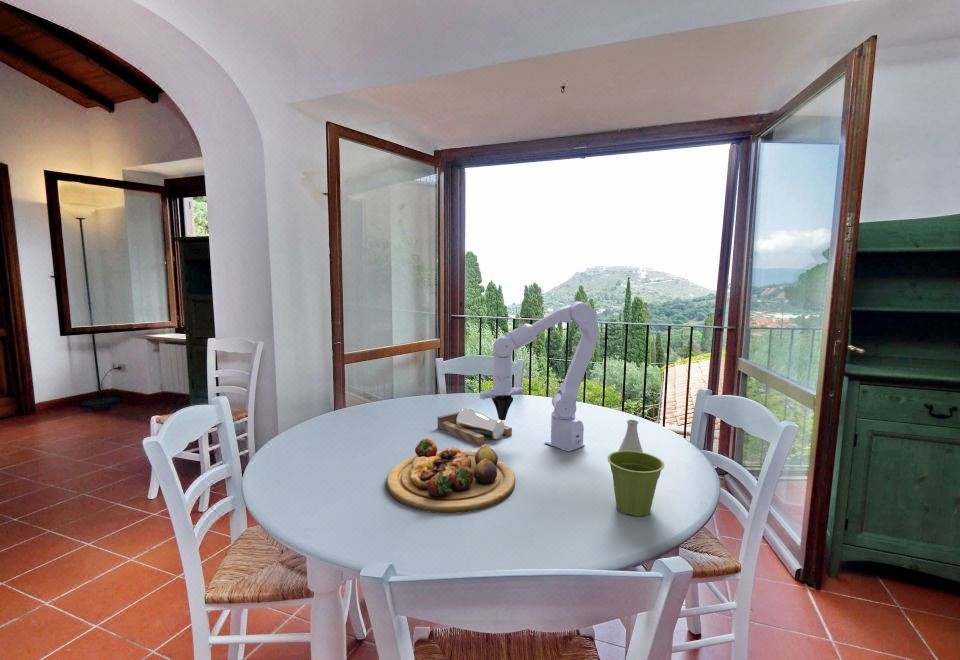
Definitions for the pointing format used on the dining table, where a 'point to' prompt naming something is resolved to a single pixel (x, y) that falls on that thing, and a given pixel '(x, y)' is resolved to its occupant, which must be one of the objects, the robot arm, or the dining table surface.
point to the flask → (631, 438)
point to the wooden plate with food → (450, 479)
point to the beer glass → (480, 423)
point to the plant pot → (634, 480)
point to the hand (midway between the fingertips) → (501, 419)
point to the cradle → (451, 426)
